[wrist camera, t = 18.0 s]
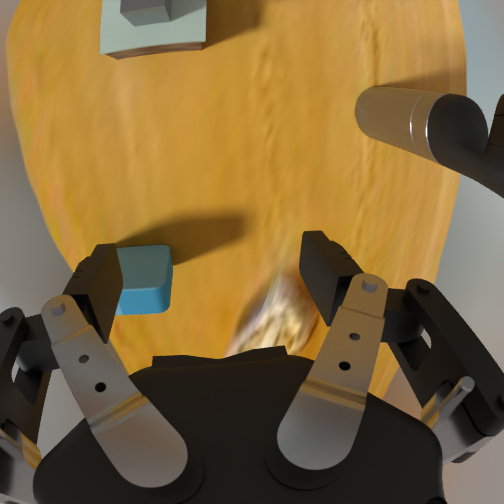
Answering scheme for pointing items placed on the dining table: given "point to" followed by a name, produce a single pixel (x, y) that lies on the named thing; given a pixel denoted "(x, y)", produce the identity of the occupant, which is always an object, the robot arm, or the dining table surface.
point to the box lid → (152, 27)
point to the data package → (145, 279)
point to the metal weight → (146, 11)
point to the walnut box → (156, 50)
